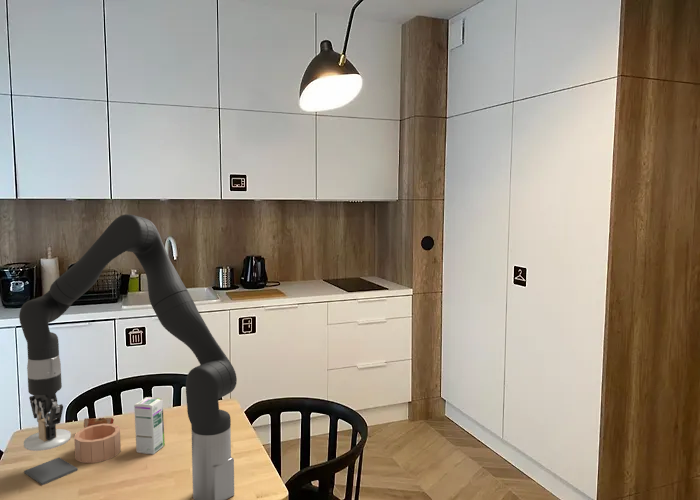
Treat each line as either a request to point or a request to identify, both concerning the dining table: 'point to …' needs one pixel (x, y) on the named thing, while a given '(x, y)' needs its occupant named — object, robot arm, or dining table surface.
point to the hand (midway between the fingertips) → (47, 436)
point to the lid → (40, 441)
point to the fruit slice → (97, 421)
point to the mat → (50, 471)
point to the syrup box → (149, 425)
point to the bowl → (97, 443)
